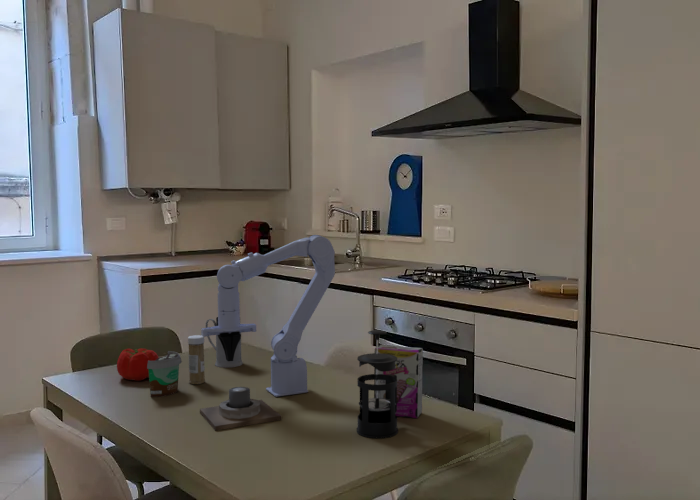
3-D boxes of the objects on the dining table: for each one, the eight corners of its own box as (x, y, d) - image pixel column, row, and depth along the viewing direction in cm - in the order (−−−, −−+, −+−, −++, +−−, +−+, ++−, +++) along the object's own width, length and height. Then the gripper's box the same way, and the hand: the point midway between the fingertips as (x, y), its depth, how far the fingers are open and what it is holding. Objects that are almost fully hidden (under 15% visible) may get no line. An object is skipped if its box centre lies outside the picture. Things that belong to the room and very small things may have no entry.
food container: (169, 399, 173) (168, 362, 172) (147, 398, 174) (146, 361, 173) (189, 386, 185) (189, 351, 184) (169, 385, 186) (168, 350, 185)
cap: (244, 407, 163) (243, 385, 162) (253, 412, 159) (253, 390, 158) (225, 411, 160) (225, 389, 159) (235, 416, 156) (234, 393, 155)
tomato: (170, 376, 196) (169, 347, 195) (136, 386, 185) (135, 356, 185) (141, 370, 202) (140, 343, 202) (107, 379, 192) (106, 350, 191)
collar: (261, 403, 169) (261, 392, 169) (281, 419, 157) (281, 407, 156) (199, 412, 162) (199, 400, 162) (215, 430, 149) (215, 417, 149)
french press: (379, 442, 142) (379, 337, 140) (346, 432, 148) (345, 331, 146) (410, 428, 151) (410, 329, 149) (377, 419, 157) (378, 324, 155)
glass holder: (229, 368, 204) (228, 321, 203) (196, 362, 212) (195, 316, 210) (248, 362, 211) (247, 316, 210) (216, 357, 219) (215, 312, 218)
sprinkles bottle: (208, 382, 189) (207, 336, 188) (194, 385, 185) (193, 338, 184) (199, 379, 192) (198, 334, 191) (185, 382, 189) (184, 336, 188)
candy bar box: (373, 414, 160) (373, 348, 159) (379, 408, 165) (379, 344, 164) (418, 419, 157) (418, 351, 155) (422, 413, 161) (423, 347, 160)
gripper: (250, 305, 182) (250, 354, 183) (197, 309, 175) (198, 360, 176) (258, 309, 175) (259, 359, 176) (204, 314, 169) (205, 366, 170)
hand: (229, 360), depth 176 cm, fingers closed
